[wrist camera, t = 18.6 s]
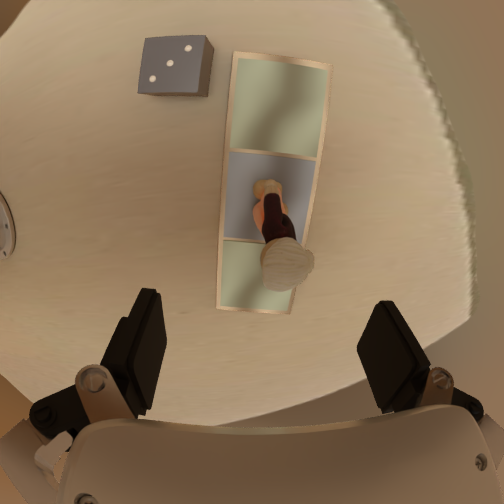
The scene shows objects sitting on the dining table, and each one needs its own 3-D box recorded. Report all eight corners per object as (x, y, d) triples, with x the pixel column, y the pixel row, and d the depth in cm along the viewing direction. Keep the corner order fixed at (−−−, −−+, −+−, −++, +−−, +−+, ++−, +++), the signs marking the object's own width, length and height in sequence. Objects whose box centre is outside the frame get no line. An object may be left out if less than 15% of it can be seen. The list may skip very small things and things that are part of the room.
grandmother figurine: (235, 179, 25) (221, 237, 14) (273, 162, 24) (292, 206, 13) (269, 245, 28) (279, 336, 17) (304, 231, 27) (336, 315, 16)
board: (217, 303, 33) (216, 309, 32) (234, 53, 20) (233, 51, 19) (289, 309, 34) (290, 315, 33) (330, 66, 20) (333, 65, 19)
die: (157, 95, 22) (136, 93, 17) (163, 49, 20) (144, 38, 15) (207, 96, 22) (197, 92, 18) (214, 49, 20) (205, 34, 15)
